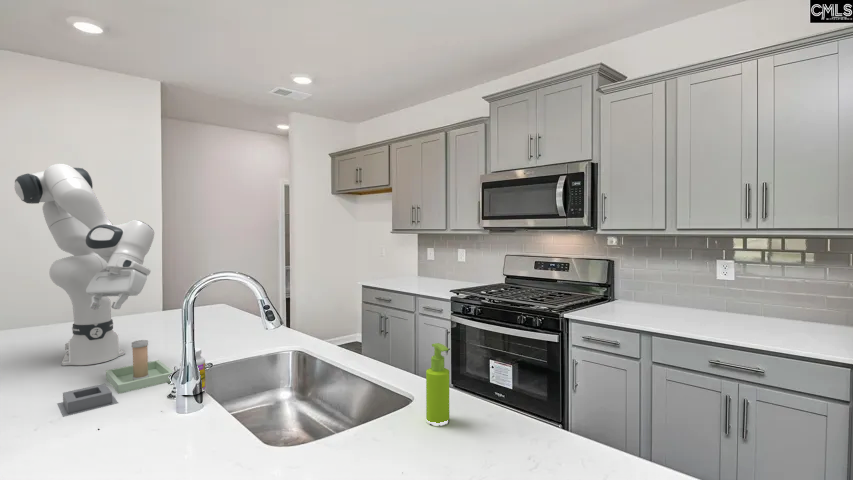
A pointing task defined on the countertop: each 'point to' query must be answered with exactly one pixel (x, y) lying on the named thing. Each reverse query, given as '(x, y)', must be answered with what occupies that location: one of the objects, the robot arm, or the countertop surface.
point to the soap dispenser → (437, 387)
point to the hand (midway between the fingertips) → (104, 308)
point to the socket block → (86, 399)
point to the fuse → (140, 359)
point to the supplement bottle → (200, 366)
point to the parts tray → (124, 379)
